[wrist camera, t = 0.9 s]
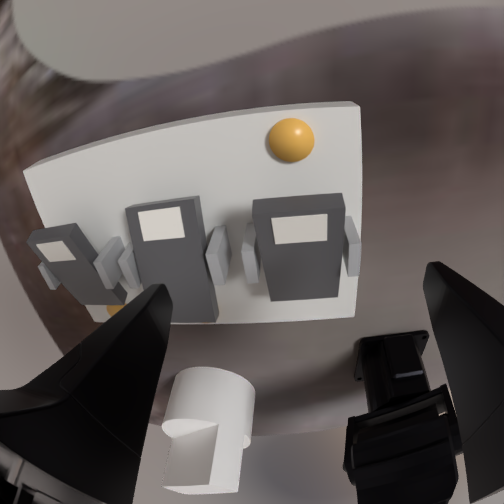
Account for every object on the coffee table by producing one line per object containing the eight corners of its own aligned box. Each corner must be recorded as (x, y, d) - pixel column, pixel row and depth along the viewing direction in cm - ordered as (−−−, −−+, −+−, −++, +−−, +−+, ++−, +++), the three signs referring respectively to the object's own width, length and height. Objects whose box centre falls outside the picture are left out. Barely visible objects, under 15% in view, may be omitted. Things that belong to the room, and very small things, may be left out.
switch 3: (336, 283, 19) (338, 298, 18) (270, 287, 19) (270, 302, 19) (341, 192, 13) (346, 208, 13) (252, 199, 14) (251, 215, 13)
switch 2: (219, 313, 18) (215, 323, 17) (158, 314, 19) (152, 323, 18) (199, 195, 16) (193, 198, 15) (133, 204, 17) (124, 208, 16)
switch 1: (127, 293, 21) (123, 306, 20) (85, 293, 21) (81, 305, 21) (76, 222, 16) (68, 236, 15) (33, 230, 16) (25, 243, 15)
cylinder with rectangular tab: (205, 355, 28) (179, 474, 18) (272, 392, 31) (265, 497, 21) (160, 383, 32) (133, 476, 23) (221, 413, 35) (207, 500, 26)
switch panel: (350, 297, 23) (360, 347, 19) (103, 306, 26) (81, 345, 22) (351, 101, 15) (376, 116, 11) (39, 160, 18) (-4, 188, 14)
